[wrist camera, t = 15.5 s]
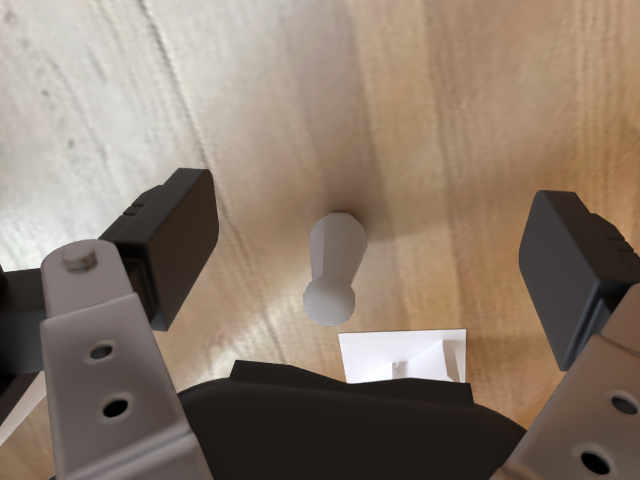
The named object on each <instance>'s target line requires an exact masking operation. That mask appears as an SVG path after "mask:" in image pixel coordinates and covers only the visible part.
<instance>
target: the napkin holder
mask: <svg viewBox="0 0 640 480" xmlns="http://www.w3.org/2000/svg"><path fill="white" fill-rule="evenodd" d="M338 335H339V341H340V346H341V352H342V358H343V363H344V369H345V375H346V380H347V383H362V382H372V381H381V380H390V379H399V378H409V377H412V378H422V379H432V380H442V381H452V382H462V383H465V359H466V329H454V330H426V331H397V332H368V333H340V334H338Z"/></svg>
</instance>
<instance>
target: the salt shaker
mask: <svg viewBox="0 0 640 480" xmlns="http://www.w3.org/2000/svg"><path fill="white" fill-rule="evenodd" d="M367 241H368V236H367V233H366V231H365V229H364V228H363V226H362V224H361V223H360V222H358V221H357V220H356V219H355V218H353V217H352V216H351V215H350V213H338V212H331V213H329V214H327V215H326V216H324V217H323V218H321V219H320V220H318V221H317V222H316V223H315V225H314V227H313V229H312V231H311V233H310V251H311V269H312V281H311V282H310V283H309V285H308V287H307V288H306V290H305V292H304V295H303V302H304V311H305V312H306V314H307V316H308V317H309V318H310V319H311V320H313V321H314V322H316V323H318V324H321V325H325V326H335V325H340V324H342V323H344V322H346V321H348V320H349V318H350V317H351V315H352V314H353V312H354V309H355V293H354V291H353V289H352V288H351V284H352V282H353V280H354V277H355V275H356V273H357V270H358V268H359V266H360V263H361V261H362V259H363V256H364V254H365V251H366V249H367Z"/></svg>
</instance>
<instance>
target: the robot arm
mask: <svg viewBox="0 0 640 480" xmlns="http://www.w3.org/2000/svg"><path fill="white" fill-rule="evenodd" d="M131 205H132V206H129V207H128V208H127V209H126V210H125V211H124V212H123V215H121V216H120V217H119V218H118V219H117V220H116V221H115V222H114V223H113V224H112V225H111V226H110V227H109V228H108V229H107V230H106V231H105V232H104V233H103V234H102V235H101V236H100V237H99V238H98V239H90V240H81V241H77V242H73V243H69V244H67V245H64V246H62V247H60V248H58V249H56V250H54V251H53V252H51V253H50V254H49V255H47V256H46V257H45V259H44V260H43V261H42V263H41V268H36V269H27V270H18V271H10V272H4V271H3V269H2V267H1V265H0V426H1V425H2V424H3V422H4V421H5V420H6V418H7V417H8V415H9V414H10V413H11V411H12V410H13V409H14V407H15V406H16V404H17V403H18V402H19V400H20V399H21V398H22V396H23V395H24V393H25V392H26V391H27V389H28V388H29V387H30V385H31V384H32V382H33V381H34V380H35V378H36V377H37V376H38V374H39V373H40V371H44V373H45V383H46V392H47V401H48V411H49V420H50V429H51V438H52V448H53V457H54V466H55V476H53V477H52V478H50V479H49V480H640V257H639V256H638V255H637V254H636V253H633V248H632V247H631V246H630V245H629V243H628V242H626V241H625V238H624V237H623V236H622V235H621V233H620V232H619V231H618V230H617V228H616V227H615V226H614V225H613V224H611V223H610V222H608V221H606V220H605V219H603V218H602V217H600V216H599V215H597V214H595V213H590V212H589V210H588V209H587V208H586V206H585V205H584V204H583V202H582V201H581V200H580V198H579V197H578V196H577V194H576V193H575V192H568V191H551V190H539V191H538V192H537V193H536V195H535V197H534V200H533V203H532V206H531V210H530V213H529V217H528V220H527V223H526V227H525V230H524V234H523V237H522V241H521V244H520V249H519V268H520V271H521V274H522V276H523V279H524V281H525V284H526V286H527V289H528V291H529V294H530V296H531V299H532V301H533V304H534V306H535V309H536V311H537V314H538V316H539V319H540V321H541V324H542V326H543V329H544V331H545V334H546V336H547V339H548V341H549V344H550V346H551V349H552V351H553V354H554V356H555V359H556V361H557V364H558V366H559V369H560V371H567V373H566V374H565V376H564V377H563V379H562V380H561V382H560V383H559V385H558V386H557V388H556V389H555V391H554V392H553V394H552V395H551V397H550V398H549V400H548V401H547V402H546V404H545V405H544V407H543V408H542V410H541V411H540V413H539V414H538V416H537V417H536V419H535V420H534V422H533V423H532V425H531V426H530V427H529V429H528V430H526V429H524V428H523V427H522V426H520V425H518V424H517V423H515V422H514V421H512V420H511V419H509V418H507V417H505V416H503V415H502V414H500V413H498V412H496V411H494V410H491V409H489V408H487V407H484V406H482V405H479V404H476V403H474V401H473V396H472V390H471V385H470V383H462V382H452V381H442V380H432V379H422V378H412V377H409V378H399V379H390V380H381V381H372V382H362V383H345V382H341V381H338V380H335V379H332V378H329V377H326V376H323V375H320V374H317V373H313V372H310V371H307V370H304V369H301V368H298V367H295V366H292V365H283V364H274V363H264V362H254V361H244V360H235V363H234V366H233V369H232V371H231V374H230V377H228V378H220V379H216V380H211V381H207V382H204V383H201V384H198V385H195V386H192V387H190V388H188V389H185V390H183V391H181V392H179V393H176V390H175V388H174V385H173V383H172V380H171V377H170V375H169V372H168V370H167V367H166V365H165V362H164V360H163V357H162V355H161V352H160V349H159V347H158V344H157V342H156V339H155V337H154V334H153V332H152V330H156V331H166V332H167V331H168V329H169V327H170V325H171V324H172V322H173V320H174V318H175V317H176V315H177V313H178V311H179V310H180V308H181V306H182V304H183V303H184V301H185V299H186V297H187V295H188V294H189V292H190V290H191V288H192V287H193V285H194V283H195V281H196V280H197V278H198V276H199V274H200V273H201V271H202V269H203V267H204V266H205V264H206V262H207V260H208V258H209V257H210V255H211V253H212V251H213V250H214V248H215V246H216V243H217V240H218V234H219V221H218V214H217V206H216V198H215V190H214V183H213V177H212V174H211V172H210V170H208V169H193V168H178V169H177V170H176V171H175V172H174V173H173V174H172V176H171V177H170V178H169V179H168V180H167V181H166V182H165V183H164V184H163V185H158V186H156V187H154V188H152V189H150V190H148V191H146V192H144V193H142V194H141V195H140V196H139V197H138V198H137V199H136V200H135V201H134V202H133V203H132V204H131Z"/></svg>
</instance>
